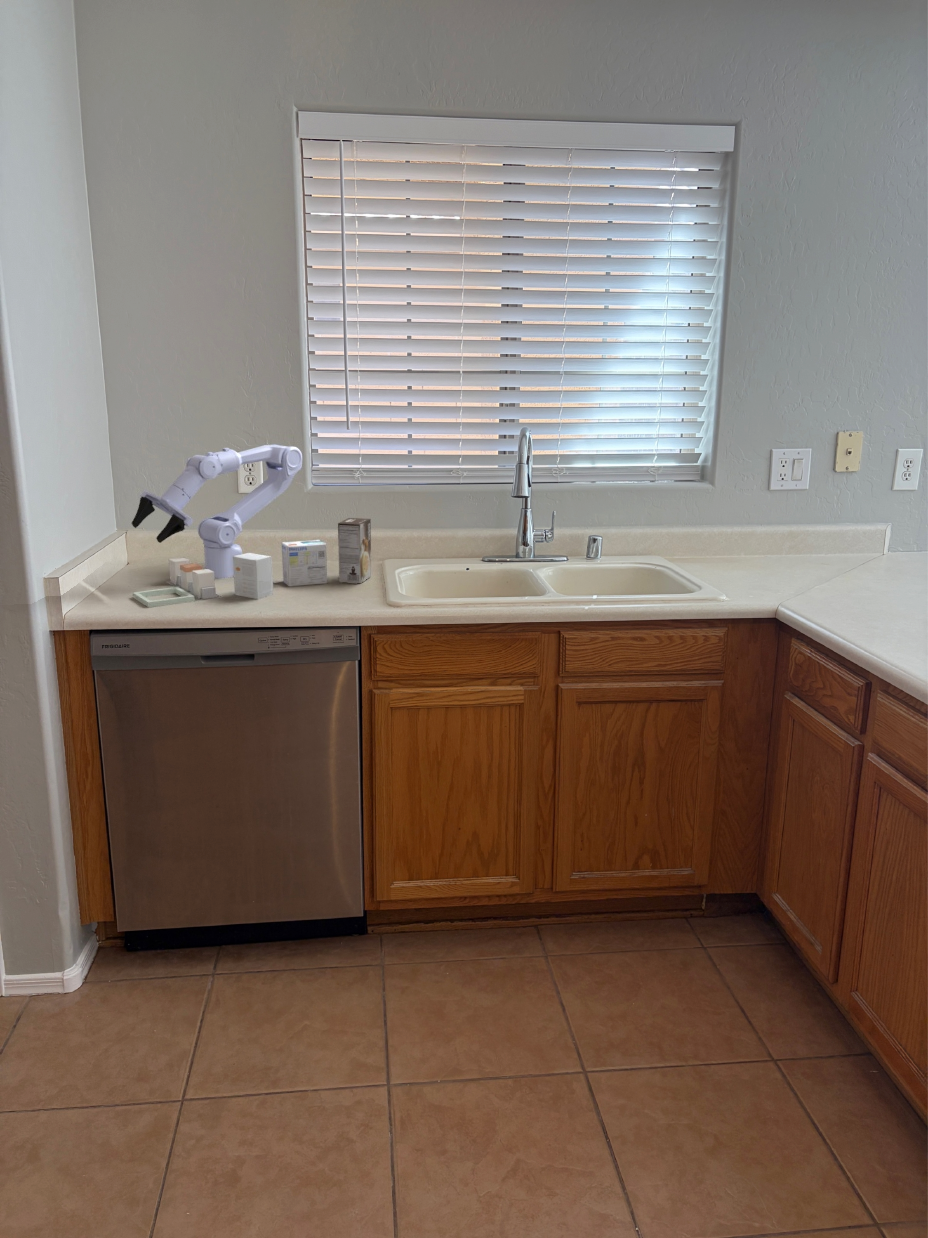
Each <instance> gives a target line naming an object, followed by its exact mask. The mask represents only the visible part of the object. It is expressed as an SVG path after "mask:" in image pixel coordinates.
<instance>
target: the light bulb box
mask: <svg viewBox="0 0 928 1238" xmlns="http://www.w3.org/2000/svg"><path fill="white" fill-rule="evenodd" d="M281 557H282V558H281V560H282V561H281V564H282V582H283V583H284V584H285V585H287V586H288V588H289V587H299V586H309V585H319V584H320V585H323V584H327V583H328V572H327V571H328V570H327V569H328V565H327V563H328V562H327V560H328V559H327V543H326V542H323V541H322V540H320V539H314V540H298V541H297V540H296V541H283V542H281Z"/></svg>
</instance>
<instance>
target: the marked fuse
mask: <svg viewBox="0 0 928 1238" xmlns="http://www.w3.org/2000/svg"><path fill="white" fill-rule="evenodd" d="M180 570H181V586H182V589H184V590H186V591H189V582H190V581H193V579H192V571H194V570H203V565H201V564H199V563H197V562H190V564H182V565H180Z"/></svg>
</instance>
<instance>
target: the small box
mask: <svg viewBox="0 0 928 1238" xmlns="http://www.w3.org/2000/svg"><path fill="white" fill-rule="evenodd" d="M272 562H273V558H272V556H270V555H265V554H264V555H263V554H257V553H254V552H246V553H242V554H241V555H236V556H233V571H234V577H233V581H234V582H233V583H234V584H233V585H234V595H235V596H240V597H245V598H249V599H255V600H261V599H265V598H267V597H271V596H274V581H273V578H274V576H273V575H274V574H273V563H272Z"/></svg>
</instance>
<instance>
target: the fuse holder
mask: <svg viewBox="0 0 928 1238" xmlns="http://www.w3.org/2000/svg"><path fill="white" fill-rule="evenodd" d="M177 579H178V585H175V584H173V583H172V582H170V580H166V581H165V583H167V584H169V585H170V586H172V587H179V588H181V589H182V586H181V575H177ZM183 590H184V589H183ZM184 591H186V590H184ZM186 592H188V593H190V594H191V595H193V581H190V582H189V591H186ZM216 592H217V591H216V586H215V587H206V588H201V595H202V598H198V597H197V596H195V595H193V596H194V599H195V600H196V601H198V600H207V599H214V598H219V597H221V595H220V594H218V593H216Z"/></svg>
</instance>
